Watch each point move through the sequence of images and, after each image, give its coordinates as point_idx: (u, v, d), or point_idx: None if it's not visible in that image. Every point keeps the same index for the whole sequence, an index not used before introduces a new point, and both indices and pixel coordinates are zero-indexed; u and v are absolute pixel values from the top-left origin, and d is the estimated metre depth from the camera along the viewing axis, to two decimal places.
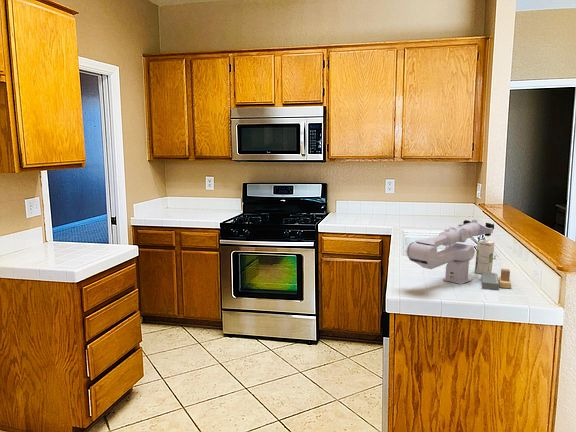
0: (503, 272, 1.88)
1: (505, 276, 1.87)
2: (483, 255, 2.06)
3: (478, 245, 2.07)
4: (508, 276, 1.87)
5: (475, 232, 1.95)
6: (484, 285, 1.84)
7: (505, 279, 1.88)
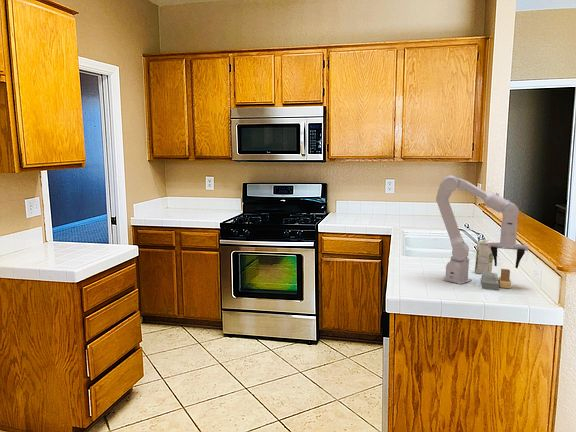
0: (503, 272, 1.88)
1: (505, 276, 1.87)
2: (483, 255, 2.06)
3: (478, 245, 2.07)
4: (508, 276, 1.87)
5: None
6: (484, 285, 1.84)
7: (505, 279, 1.88)
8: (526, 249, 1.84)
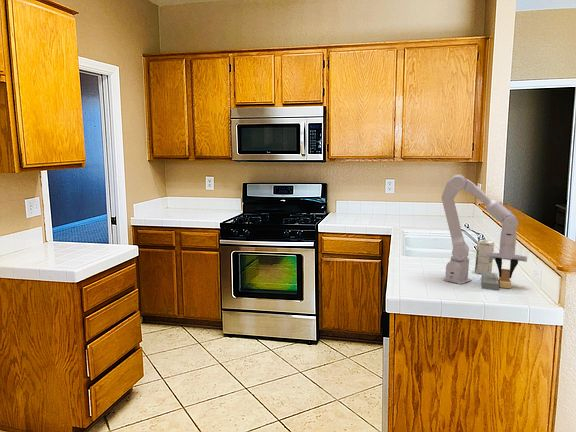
0: (503, 272, 1.88)
1: (505, 276, 1.87)
2: (483, 255, 2.06)
3: (478, 245, 2.07)
4: (508, 276, 1.87)
5: None
6: (484, 285, 1.84)
7: (505, 279, 1.88)
8: (525, 260, 1.85)
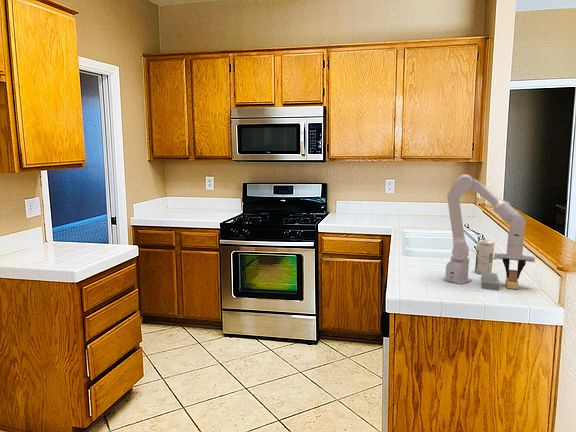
0: (511, 273, 1.87)
1: (513, 277, 1.86)
2: (483, 255, 2.06)
3: (478, 245, 2.07)
4: (516, 277, 1.86)
5: (507, 245, 1.88)
6: (484, 285, 1.84)
7: (513, 280, 1.87)
8: (533, 261, 1.84)
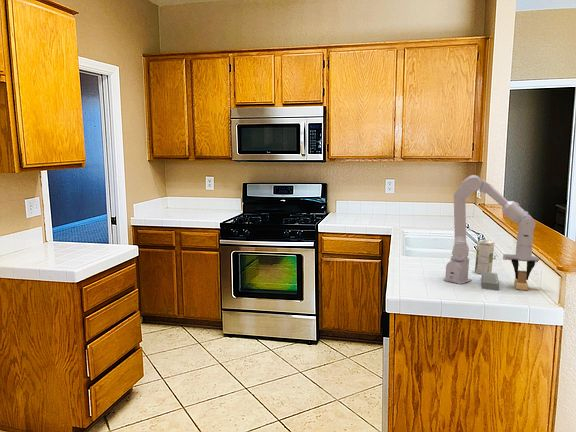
0: (520, 274, 1.85)
1: (522, 278, 1.85)
2: (483, 255, 2.06)
3: (478, 245, 2.07)
4: (525, 278, 1.85)
5: (516, 245, 1.87)
6: (484, 285, 1.84)
7: (522, 281, 1.85)
8: None
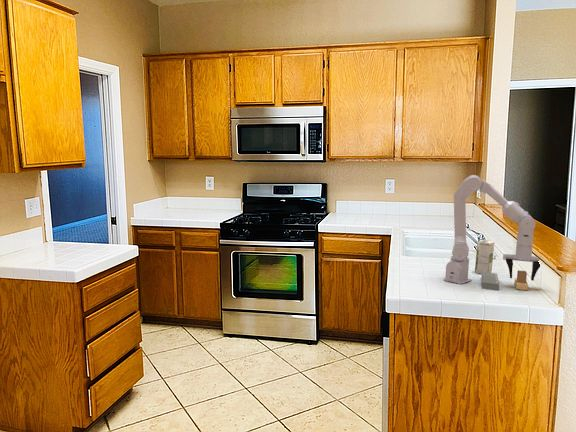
0: (520, 274, 1.85)
1: (522, 278, 1.85)
2: (483, 255, 2.06)
3: (478, 245, 2.07)
4: (525, 278, 1.85)
5: (516, 245, 1.87)
6: (484, 285, 1.84)
7: (522, 281, 1.85)
8: None
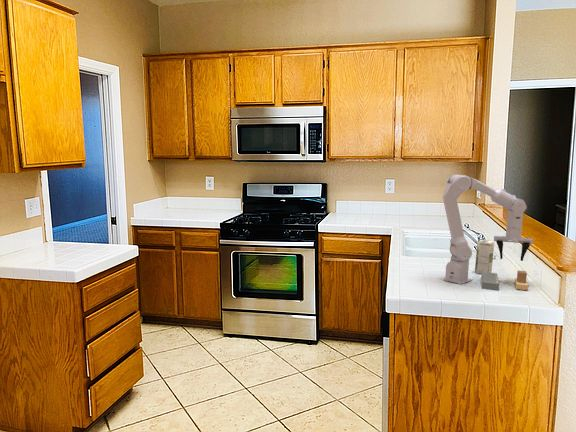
0: (520, 274, 1.85)
1: (522, 278, 1.85)
2: (483, 255, 2.06)
3: (478, 245, 2.07)
4: (525, 278, 1.85)
5: None
6: (484, 285, 1.84)
7: (522, 281, 1.85)
8: (531, 242, 1.90)
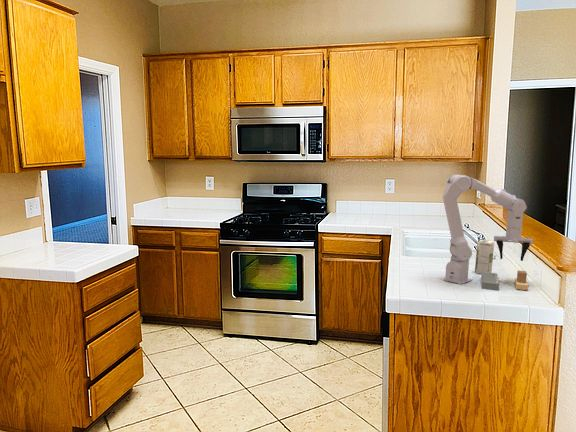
0: (520, 274, 1.85)
1: (522, 278, 1.85)
2: (483, 255, 2.06)
3: (478, 245, 2.07)
4: (525, 278, 1.85)
5: None
6: (484, 285, 1.84)
7: (522, 281, 1.85)
8: (531, 242, 1.90)
